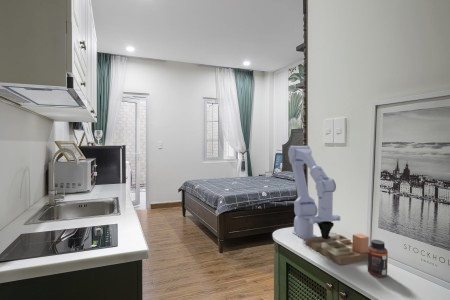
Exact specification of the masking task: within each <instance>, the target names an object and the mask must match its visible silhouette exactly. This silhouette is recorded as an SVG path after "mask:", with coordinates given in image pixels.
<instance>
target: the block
mask: <svg viewBox="0 0 450 300" xmlns="http://www.w3.org/2000/svg"><path fill="white" fill-rule="evenodd" d="M335 233H336V232H333V231H330V233H329V236H328V239H323V240H325V241H327V242H330V241H337V240H339V235H337V234H335Z"/></svg>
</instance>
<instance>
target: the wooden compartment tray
mask: <svg viewBox="0 0 450 300" xmlns="http://www.w3.org/2000/svg"><path fill="white" fill-rule="evenodd" d="M334 233H335V234H337V235H339V240H338V241H340V242H342V243H344V244H346V245H348V246H350V247H352V246H353V241H352V239H351V238H349V237H347V236H345V235H342V234H341V233H338V232H334ZM324 242H327V241H325V240H323V238H322V235H321V236H317V237H313V238H306V239H305V245H306V246H308V247H310V248H311V249H314V251H316V252H318V253H320V254H321V255H323V256H324V257H326V258H328V259H329V260H331V261H333V262H335V263H336V264H337V265H339V266H344V265H349V264H354V263H359V262H365V261H368V252H366V253H359V252H357V251H355V250H353V249H352V253H349V254H343V255H338V256H335V255H333V254H332V253H330V252H328V251H327V250H325V249H323V248H322V243H324ZM334 248H335V249H338V248H339V247H334Z"/></svg>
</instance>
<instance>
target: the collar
mask: <svg viewBox="0 0 450 300" xmlns="http://www.w3.org/2000/svg"><path fill="white" fill-rule="evenodd" d="M334 247H339V248H338V249H335V248H334ZM322 248H323V249H325V250H327V251H328V252H330V253H332V254H333V255H335V256H338V255H343V254H349V253H352V249H353V248H352V247H350V246H348V245H346V244H344V243H342V242H340V241H338V240H337V241H330V242H324V243H322Z"/></svg>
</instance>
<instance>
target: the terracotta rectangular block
mask: <svg viewBox="0 0 450 300" xmlns="http://www.w3.org/2000/svg"><path fill="white" fill-rule="evenodd" d="M352 243H353V246H352V248H353V250H355V251H357V252H359V253H366V252H368V247H369V246H370V245H369V243H370V237H369V236H367V235H365V234H363V233H355V234H352Z"/></svg>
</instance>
